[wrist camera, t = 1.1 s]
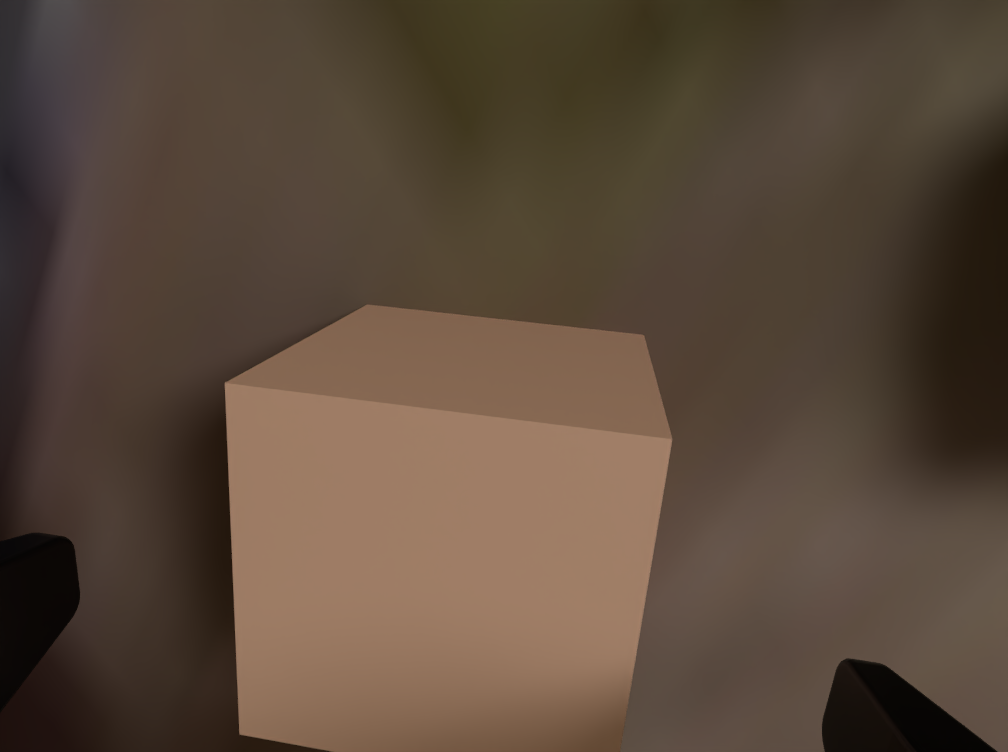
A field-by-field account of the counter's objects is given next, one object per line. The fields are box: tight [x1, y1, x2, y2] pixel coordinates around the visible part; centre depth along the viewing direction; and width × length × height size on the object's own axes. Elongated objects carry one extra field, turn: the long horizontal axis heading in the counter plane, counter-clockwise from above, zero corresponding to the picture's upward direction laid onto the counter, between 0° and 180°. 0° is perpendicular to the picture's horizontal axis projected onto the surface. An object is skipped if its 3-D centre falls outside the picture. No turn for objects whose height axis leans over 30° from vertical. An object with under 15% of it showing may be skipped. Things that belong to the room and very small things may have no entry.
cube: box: [225, 305, 672, 752], centre depth 10 cm, size 5×5×5 cm
